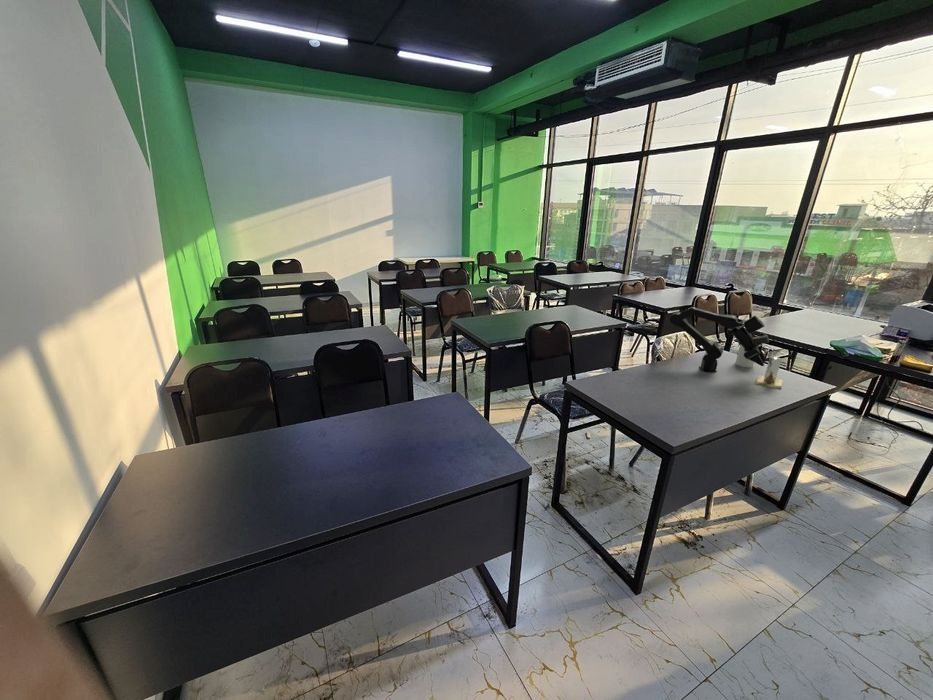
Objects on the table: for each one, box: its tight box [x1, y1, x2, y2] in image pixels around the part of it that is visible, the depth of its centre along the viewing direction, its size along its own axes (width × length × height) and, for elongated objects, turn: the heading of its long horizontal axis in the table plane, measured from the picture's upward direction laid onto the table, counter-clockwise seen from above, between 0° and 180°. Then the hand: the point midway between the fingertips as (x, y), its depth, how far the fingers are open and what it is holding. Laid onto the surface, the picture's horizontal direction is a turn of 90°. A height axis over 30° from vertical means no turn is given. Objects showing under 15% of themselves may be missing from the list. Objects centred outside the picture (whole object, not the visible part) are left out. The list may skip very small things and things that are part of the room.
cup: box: [735, 344, 755, 368], centre depth 219 cm, size 8×8×12 cm
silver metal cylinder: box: [764, 356, 782, 383], centre depth 195 cm, size 5×5×12 cm
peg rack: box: [755, 375, 784, 390], centre depth 196 cm, size 10×10×5 cm
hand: (764, 363), depth 196 cm, fingers open, 9 cm apart
